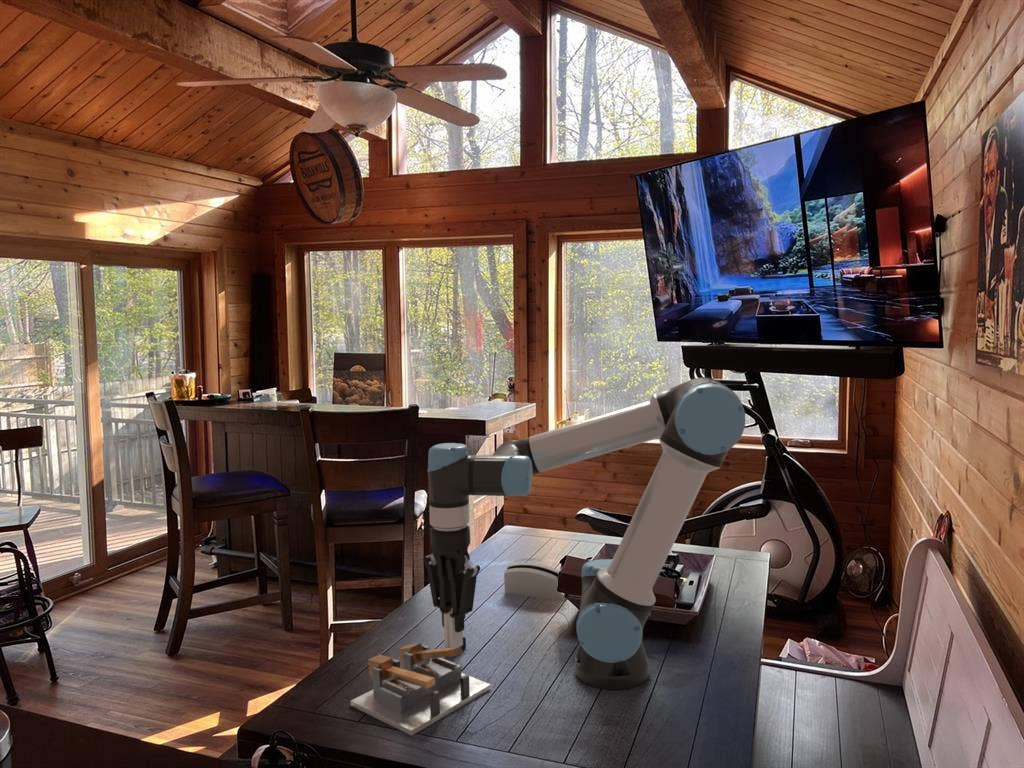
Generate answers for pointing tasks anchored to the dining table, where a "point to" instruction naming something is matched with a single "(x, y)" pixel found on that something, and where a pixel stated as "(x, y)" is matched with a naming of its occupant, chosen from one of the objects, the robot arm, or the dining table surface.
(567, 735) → the dining table surface
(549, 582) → the pale grey rounded block
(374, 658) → the strap left
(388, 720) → the heatsink base
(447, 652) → the strap right
